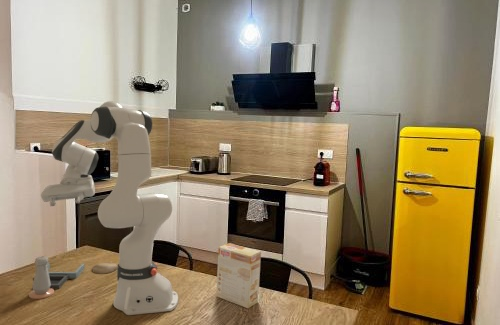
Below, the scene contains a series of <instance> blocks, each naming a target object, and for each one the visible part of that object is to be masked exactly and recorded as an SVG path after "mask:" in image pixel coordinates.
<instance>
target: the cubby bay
mask: <svg viewBox="0 0 500 325" xmlns="http://www.w3.org/2000/svg"><path fill="white" fill-rule="evenodd" d="M47 268H48V273H49V275H68V279H77V278H78V277H79V276H80V275H81V274H82V273H83V271H84V270H85V263H81V264H80V266H78V268H77V269H76V270H75V271H49V270H50V269H51V263H49V262H48V264H47Z"/></svg>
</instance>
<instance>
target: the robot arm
mask: <svg viewBox="0 0 500 325" xmlns="http://www.w3.org/2000/svg"><path fill="white" fill-rule="evenodd" d="M152 130H153V119H152V117H151V115H150V114H149V113H148V112H146V111H144V110H141V109H138V110H137V109H133V108H127V107H126V108H125V107H123V106H122V105H121V104H119V103H118V102H117V101H110V100H109V101H108V100H107V101H106V102H104V103H102V104H101V105H100V106H99V107H96V108H95V109H94V110H93V111H92V112H91V116H90V118H88V119H82V120H79V121H77V122H76V123H75V124H74V125H73V126H71V128H70V129H69V130H68V131H66V133H65V134H64V135H63V136H62V137H61V138H59V139H58V140H57V141H55V143H54V145H53V147H52V150H51V154H52V156H53V158H54V160H56V161H60V162H63V163H65V164H68V165H67V166H66V169H65V172H64V174H63V175H62V178H61V181H60V183H58V184H57V183H56V184H55V183H54V184H49V185H47V186H46V187H45V188H44V189H43V191H42V192H41V194H40V197H41V200H42V201H43V202H45V203H47V202H48V203H49V206H50V207H55V206H56V205H57V204H56V201H65V200H72V199H73V200H74V202H75V204H80V202H81V201H82V200H83V199H84V198H88V197H89V198H91V197H93V196H95V193H96V188H95V182H94V180H93V176H92V175H91V174H92V173H93V172H94V171H95V169H96V168H97V164H98V161H99V158H100V157H99V154H98V153H97V151H96V150H94V149H92V148H90V147H87V146H84V145H82V144H80V143H78V142H76V141H77V140H86V141H90V142H94V143H99V144H101V143H102V144H104V143H108V142H110V141H112V140H113V139H116V140H117V179H116V182H115V185H114V187H113V189H112V191H111V192H110V194H108V195H107V196H106V198H104V199H103V200H102V201H101V202H100V204H99V206H98V210H97V218H98V220H99V222H100V224H101V225H102V226H103V227H104V228H109V229H125V228H132V227H133V230H132V231H131V232H130V233H129V234H127V235H126V236H125V237H124V238H122V240H121V241H120V244H119V249H118V250H119V251H118V252H119V254H118V259H119V260H118V264H117V270H116V278H117V285H116V291H115V292H116V293H115V296H114V300H113V303H112V304H113V306H114V308H116V309H117V310H119V311H122V312H123V314H125V315H127V316H133V315H135V316H136V315H144V314H152V313H153V314H154V313H162V312H163V313H164V312H171V311H173V310H174V309H176V307H177V306H178V304H179V295H178V293H177V292H176V291H175V290H173V287H172V283H171V281H170V280H169V279H168V278H166V277H165V276H163V275H162V274H160V273H159V272H158V263H157V262H155V263H154V262H153V259H152V258H153V247H154V242H155V238H156V236H157V233H158V231H159V229H160V228H161V227H162V225H163V224H164V223H165V222H166V221H168V220H169V218H170V217H171V215H172V212H173V203H172V201H171V198H169V196H168V195H166V194H162V193H155V192H153V193H151V192H150V193H140V194H139V193H138V189H139V187H140V186H141V185H142V184H144V183H146V182H147V181H148V180H149V179H150V178H151V176H152V155H151V154H152V152H151V142H150V137H149V135H150V134H151V132H152Z"/></svg>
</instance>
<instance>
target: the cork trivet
mask: <svg viewBox="0 0 500 325" xmlns="http://www.w3.org/2000/svg"><path fill="white" fill-rule="evenodd" d="M117 267H118V264H117V263H115V262H101V263H97V264H95V265H94V266H92V272H93V273H94V274H103V275H104V274H105V275H106V274H110V273H115V271H116V272H117Z"/></svg>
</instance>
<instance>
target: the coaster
mask: <svg viewBox="0 0 500 325" xmlns="http://www.w3.org/2000/svg"><path fill="white" fill-rule="evenodd" d="M54 293H55V289H52V288H49V290H48V292H47V293H45V294H41V295H39V294H36V293H35V292H34V290H33V289H32V290H31V291H29V293H28V298H30V299H31V300H42V299H46V298H50V297H51V296H52V295H54Z"/></svg>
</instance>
